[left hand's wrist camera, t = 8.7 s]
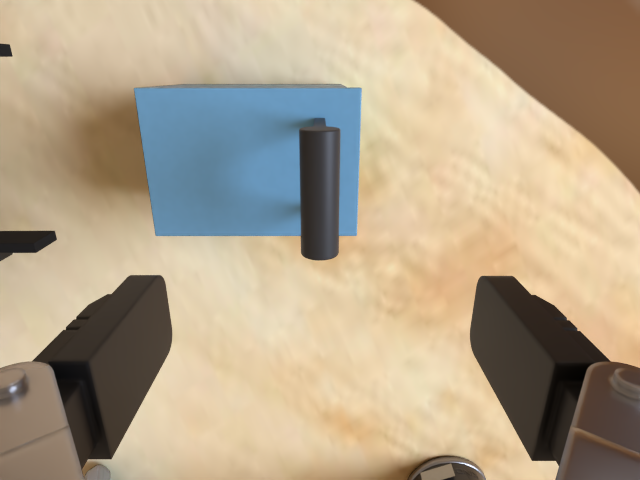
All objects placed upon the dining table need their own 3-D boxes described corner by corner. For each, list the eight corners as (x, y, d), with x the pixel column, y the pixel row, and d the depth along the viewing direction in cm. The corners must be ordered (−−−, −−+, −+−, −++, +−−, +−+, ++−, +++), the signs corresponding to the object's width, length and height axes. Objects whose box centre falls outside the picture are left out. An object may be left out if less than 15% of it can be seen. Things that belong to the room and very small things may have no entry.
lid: (360, 87, 27) (378, 93, 19) (355, 231, 30) (369, 289, 22) (139, 87, 27) (61, 93, 19) (160, 231, 30) (101, 289, 22)
